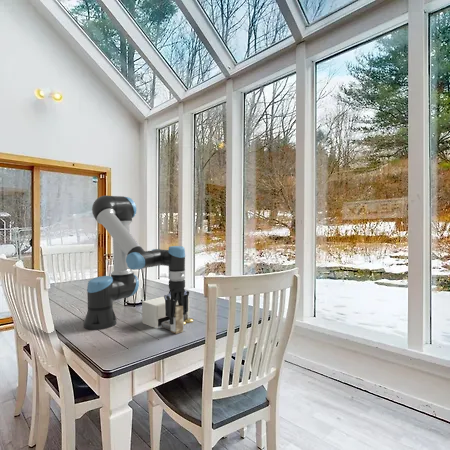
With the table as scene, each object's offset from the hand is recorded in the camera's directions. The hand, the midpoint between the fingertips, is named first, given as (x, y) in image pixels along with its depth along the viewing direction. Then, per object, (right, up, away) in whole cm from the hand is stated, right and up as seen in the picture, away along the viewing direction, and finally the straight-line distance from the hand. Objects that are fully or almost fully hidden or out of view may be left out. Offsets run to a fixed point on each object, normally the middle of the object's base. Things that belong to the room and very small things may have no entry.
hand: (177, 329), depth 149 cm
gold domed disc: (+4, -1, +15) cm, 16 cm away
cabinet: (-8, -1, +17) cm, 19 cm away
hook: (+1, -1, +8) cm, 8 cm away
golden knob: (0, -1, +11) cm, 11 cm away
